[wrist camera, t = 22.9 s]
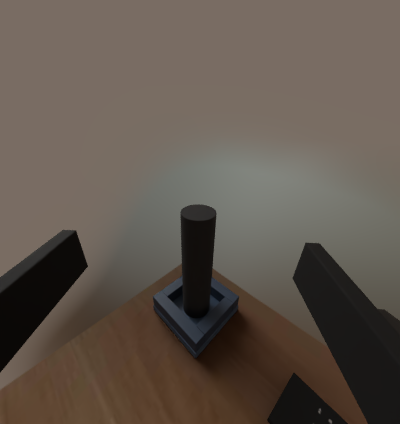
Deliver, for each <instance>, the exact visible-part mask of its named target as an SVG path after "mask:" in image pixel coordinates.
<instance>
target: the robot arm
mask: <svg viewBox="0 0 400 424" xmlns="http://www.w3.org/2000/svg"><path fill="white" fill-rule="evenodd" d="M87 267H88V265H87V262H86V259H85V256H84V253H83V250H82V247H81V244H80V242H79V238H78V235H77V232H76V231H74V230H62V231H61V232H60V233H58V234H57V235H56V236H54V237H53V238H52V239H50V240H49V241H48V242H47V243H45V244H44V245H42V246H41V247H40V248H38V249H37V250H36V251H35V252H33V253H32V254H31V255H29V256H28V257H27V258H25V259H24V260H23V261H21V262H20V263H19V264H17V265H16V266H15V267H13V268H12V269H11V270H9V271H8V272H7V273H6V274H4V275H3V276H1V277H0V372H1V371H2V370H3V368H4V367H5V366H6V365H7V364H8V362H9V361H10V360H11V359H12V358H13V356H14V355H15V354H16V353H17V351H18V350H19V349H20V348H21V347H22V345H23V344H24V343H25V342H26V340H27V339H28V338H29V337H30V336H31V335H32V333H33V332H34V331H35V330H36V329H37V327H38V326H39V325H40V324H41V323H42V321H43V320H44V319H45V318H46V316H47V315H48V314H49V313H50V312H51V310H52V309H53V308H54V307H55V306H56V304H57V303H58V302H59V301H60V299H61V298H62V297H63V296H64V295H65V293H66V292H67V291H68V290H69V289H70V287H71V286H72V285H73V284H74V283H75V281H76V280H77V279H78V278H79V277H80V275H81V274H82V273H83V272H84V270H85V269H86V268H87ZM293 280H294V282H295V284H296V285H297V288H298V290H299V292H300V293H301V295H302V297H303V299H304V301H305V303H306V305H307V307H308V309H309V311H310V313H311V315H312V317H313V318H314V320H315V322H316V324H317V326H318V328H319V330H320V332H321V334H322V336H323V337H324V339H325V342H326V343H327V345H328V347H329V349H330V351H331V353H332V355H333V357H334V359H335V361H336V363H337V365H338V366H339V368H340V370H341V372H342V374H343V376H344V378H345V380H346V382H347V384H348V386H349V388H350V390H351V391H352V393H353V395H354V397H355V399H356V401H357V403H358V405H359V407H360V409H361V411H362V413H363V415H364V416H365V418H366V420H367V422H368V424H400V321H399V320H398V319H396V318H395V317H394V316H392V315H391V314H390V313H388V312H387V311H385V310H382V309H377V308H376V307H375V306H374V305H373V304H372V302H371V301H370V300H369V299H368V298H367V297H366V296H365V294H364V293H363V292H362V291H361V290H360V289H359V288H358V287H357V285H356V284H355V283H354V282H353V281H352V280H351V279H350V277H349V276H348V275H347V274H346V273H345V272H344V271H343V270H342V268H341V267H340V266H339V265H338V264H337V263H336V262H335V260H334V259H333V258H332V257H331V256H330V255H329V254H328V253H327V252H326V251H325V249H324V248H323V247H322V246H321V245H320V244H319V243H305V246H304V249H303V251H302V254H301V257H300V260H299V262H298V265H297V268H296V270H295V274H294V276H293Z"/></svg>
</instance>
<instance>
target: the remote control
mask: <svg viewBox="0 0 400 424" xmlns="http://www.w3.org/2000/svg"><path fill="white" fill-rule="evenodd" d="M267 421H268V422H269V423H270V424H348V423H347V422H346V421H344V420H343V419H342V418H341V417H340V416H339V415H338V414H337V413H336V412H335V411H334V410H333V409H332V408H331V407H330V406H329V405H328V404H327V403H325V402H324V401H323V400H322V399H321V398H320V397H319V396H318V395H317V394H316V393H315V392H314V391H313V390H312V389H311V388H310V387H309V386H308V385H307V384H305V383H304V382H303V381H302V380H301V379H300V378H299V377H298V376H297V375H296V374H295V373H293V375H292V376H291V378H290V380H289V382H288V384H287V385H286V387H285V389H284V391H283V393H282V394H281V396H280V398H279V400H278V401H277V403H276V405H275V407H274V409H273V410H272V412H271V414H270V416H269V418H268V419H267Z"/></svg>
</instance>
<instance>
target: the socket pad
mask: <svg viewBox="0 0 400 424" xmlns="http://www.w3.org/2000/svg"><path fill="white" fill-rule="evenodd" d="M153 300H154V305H153V307H154V310H155V311H156V313H157V314H158V315H159V316H160V317H161V319H162V320H163V321H164V322H165V323H166V324H167V326H168V327H169V328H170V329H171V330H172V332H173V333H174V334H175V335H176V336H177V337H178V339H179V340H180V341H181V342H182V343H183V344H184V346H185V347H186V348H187V349H188V350H189V352H190V353H191V354H192V355H193V356H194V357H195V358H197V357H198V355H199V354H200V353H201V352H202V351H203V350H204V348H205V347H206V346H207V345H208V344H209V343H210V341H211V340H212V339H213V338H214V337H215V336H216V334H217V333H218V332H219V331H220V330H221V329H222V327H223V326H224V325H225V324H226V323H227V322H228V320H229V319H230V318H231V317H232V316H233V315H234V313H235V312H236V311H237V310H238V300H239V296H237V295H236V294H234V293H233V292H232V291H230V290H229V289H228V288H226V287H225V286H223V285H222V284H221V283H219V282H218V281H217V280H215V279H214V278H212V280H211V293H210V307H209V311H208V313H207V314H206V315H205V316H203V317H201V318H192V317H189V316H188V315H187V314H186V313H185V312H184V309H183V283H182V276H181V277H180V278H178V279H177V280H176V281H174V282H173V283H171V284H170V285H169V286H167V287H166V288H164V289H163V290H162V291H160V292H159V293H157V294H156V295H154V296H153Z"/></svg>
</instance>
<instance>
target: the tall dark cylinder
mask: <svg viewBox="0 0 400 424" xmlns="http://www.w3.org/2000/svg"><path fill="white" fill-rule="evenodd" d="M215 225H216V211H215V210H214V209H213V208H212V207H209V206H206V205H190V206H187V207H185V208H183V209H182V210H181V245H182V246H181V247H182V283H183V309H184V312H185V313H186V314H187V315H188V316H189V317H192V318H201V317H203V316H205V315H206V314H207V313H208V311H209V307H210V293H211V280H212V266H213V252H214V239H215Z"/></svg>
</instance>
